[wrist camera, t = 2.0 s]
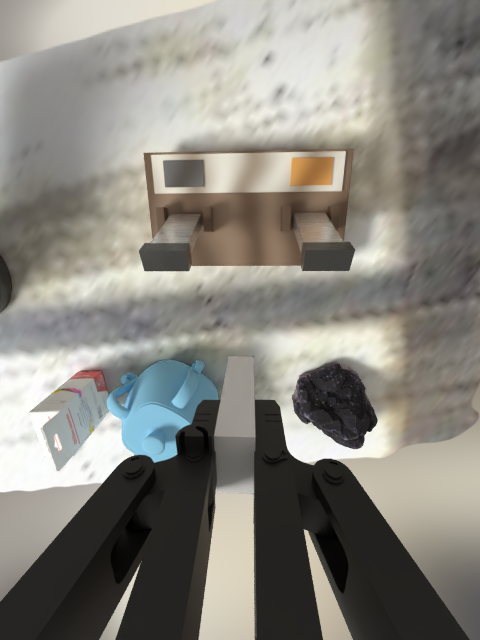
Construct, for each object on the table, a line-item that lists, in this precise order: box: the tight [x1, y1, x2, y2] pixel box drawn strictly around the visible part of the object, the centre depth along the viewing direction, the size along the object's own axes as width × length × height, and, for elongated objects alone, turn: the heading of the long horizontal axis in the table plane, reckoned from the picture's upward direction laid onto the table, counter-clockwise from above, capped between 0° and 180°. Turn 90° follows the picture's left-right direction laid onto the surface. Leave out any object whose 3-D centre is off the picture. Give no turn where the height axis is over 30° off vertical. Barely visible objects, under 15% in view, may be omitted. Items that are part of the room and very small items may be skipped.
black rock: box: [292, 363, 377, 449], centre depth 45 cm, size 13×14×10 cm
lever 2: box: [292, 213, 355, 271], centre depth 30 cm, size 5×2×12 cm, turn 90°
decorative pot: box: [107, 360, 218, 463], centre depth 43 cm, size 16×16×14 cm
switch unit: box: [144, 149, 354, 266], centre depth 36 cm, size 26×14×7 cm, turn 90°
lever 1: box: [139, 214, 202, 271], centre depth 31 cm, size 5×2×12 cm, turn 90°
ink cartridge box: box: [29, 371, 109, 471], centre depth 43 cm, size 9×5×15 cm, turn 4°
